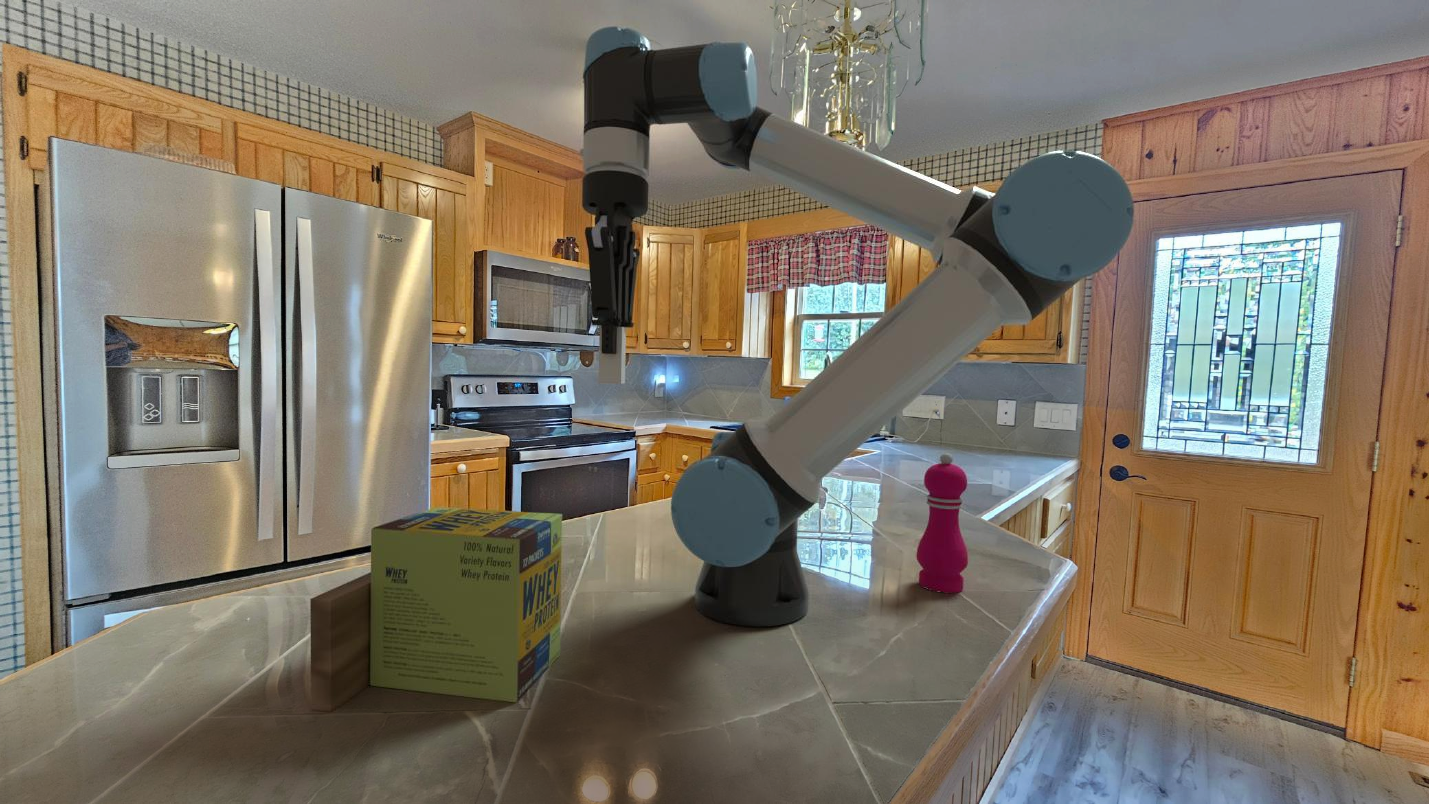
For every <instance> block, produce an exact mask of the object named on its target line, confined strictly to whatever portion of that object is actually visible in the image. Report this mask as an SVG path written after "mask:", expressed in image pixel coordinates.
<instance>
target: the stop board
mask: <svg viewBox="0 0 1429 804" xmlns="http://www.w3.org/2000/svg"><path fill="white" fill-rule="evenodd" d="M309 604H310V610H309V611H310V617H309V618H310V710H313V711H320V712H321V711H322V712H328V713H329V712H333V711H335V710H336V709H337V708H338V707H340V706H341V705H343V704H344V703H346V702H347V701H349V700H350V699H351V698H353V697H354V696H356V695H357V694H359V693H360V692H361V691H363V690H365V689H366V688H367V687H369V686H371V685H370V612H371V571H370V572H368V573H366V574H364V575H361V576H359V577H357V578H354V579H352V580H350V581H347V582H345V583H343V584H341V585H339V586H336V587H335V588H333V589H329V590H328V591H325V592H322V593H321V594H318V595H316V596H314V597H312V598H310V603H309Z"/></svg>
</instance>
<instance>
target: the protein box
mask: <svg viewBox="0 0 1429 804" xmlns="http://www.w3.org/2000/svg"><path fill="white" fill-rule="evenodd" d="M562 531H563V514H562V513H552V512H551V513H550V512H530V511H529V512H528V511H527V512H526V511H516V510H515V511H514V510H501V509H500V510H499V509H477V508H461V507H448V506H447V507H443V506H440V507H439V506H436V507H432V508H430V509H426V510H423V511H420V512H417V513H413V514H411V515H408V516H405V517H401V518H398V519H395V520H393V521H392V520H391V521H389V522H386V523H383V524H380V525H376V526H375V527H372V528H371V529H370V533H371V534H370V572H371V612H370V685H369V686H371V687H379V688H389V689H397V690H406V691H413V692H422V693H432V694H438V695H447V696H457V697H465V698H473V699H474V698H475V699H483V700H489V701H490V700H492V701H500V702H508V703H517V702H519V700H520V699H521V698H522V697H523V696H524V695H525V694H526V692H527V691H528V690H529V689H530V688H531V687H532V686H533V685H534V684H535V682H537V681H538V680H539V678H540V677H541V676H542V675H543V674H544V673H545V672H546V671H547V669H549V667H550V666H551V665H552V664H553V663H555V662H554V661H556V660H557V659H558V657H559V656H560V655H561V638H562V637H561V636H562V635H561V622H562V621H561V620H562V619H561V617H562V615H561V614H562V610H561V609H562V544H563V543H562V541H563V539H562V538H563V537H562V536H563V532H562Z"/></svg>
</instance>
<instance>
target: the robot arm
mask: <svg viewBox="0 0 1429 804" xmlns="http://www.w3.org/2000/svg"><path fill="white" fill-rule="evenodd" d="M651 46H652V45H651V43H650V41H649V39H648V38H647V37H646V36H645V35H644V34H642V33H641V32H639V31H638V30H635V29H632V28H630V27H627V28H620V27H618V26H606V27H603V28H600V29H597V30H595V31H594V32H593V33H591V34H590V36H589V38H588V39H587V41H586V45H585V57H584V68H583V71H582V79H583V82H582V83H583V148H581V149H580V150H579V156H580V157H581V158H583V159H582V162H583V163H582V170H583V172H584V173H585V175H584V176H583V178H582V184H581V185H582V188H581V206H582V209H583V210H584V211H585V212H586V213H587V214H590V215H592V216H594V226H586V227H585V229H584V236H585V240H586V246H587V252H588V255H587V256H588V266H589V267H588V269H589V281H590V282H589V283H590V284H589V285H590V298H591V299H590V300H591V315H592V318H593V319H591V320H590V321H591V322H590V323H591V325H592V326H599V335H598V336H599V338H598V339H599V343H598V345H599V346H598V347H599V348H598V384H626V347H627V344H626V343H627V339H626V338H627V329H628V328H629V329H630V328H634V325H635V323H634V322H633V315H634V314H633V313H634V304H635V303H634V302H635V292H636V284H637V283H636V280H637V270H638V265H639V260H640V255H641V252H640V248H638V247H637V248H635V246H636V232H635V231H634V230H633V221H634V220H635V218H641V217H644V216H645V215H646V214H647V213H648V211H649V183H648V181H647V180H646V179H648V177H649V176H650V138H651V137H650V135H651V134H650V132H651V131H650V130H651V126H653V125H660V126H661V125H673V124H674V125H675V124H687V125H688V127H689V128H690V129H691V131H692V132H693V133H694V135H695V136H696V137H697V139H698V140H699V142H700V143H701V145H702V146H703V147H702V148H703V149H704V150H705V152H706V154H707V155H708V156H709V158H710V159H712V160H713V161H714V162H716V163H717V164H718V165H719V166H721V167H723V168H725V169H728V170H738V169H741V170H742V169H743V170H745V171H748V172H751V173H753V174H755V175H756V176H757V175H758V176H759V177H762V178H764V179H766V180H769V181H771V182H773V183H776V184H777V185H779V186H781V187H784V188H786V189H789V190H791V191H793V192H796V193H798V194H800V195H802V196H804V197H807V198H808V199H811V200H813V201H815V202H818V203H820V204H822V205H825V206H827V207H829V208H832V209H834V210H836V211H839V212H840V213H842V214H845V215H847V216H849V217H852V218H854V219H857V220H859V221H860V222H863V223H865V224H867V225H869V226H872V227H875V228H877V229H879V230H881V231H884V232H886V233H888V234H890V235H893V236H895V237H896V238H900V239H901V240H904V241H905V242H906V241H907V242H908V243H910V244H913V245H914V246H915V245H916V246H917V247H920V248H922V249H924V250H926V251H929V253H930V255H931V258H932V260H933V263H934V264H936V265H938V266H937V267H936V268H935V269H934V270H933V271H931V272H930V273H929V274H927V276H926V277H925V278H924V279H923V280H922V281H920V283H918V284H917V285H916V286H914V288H912V290H911V291H910V292H908V293H907V294H906V295H905V296H904V297H903V298H902V299H900V300H899V301H898V302H897V303H896V304H894V306H893V307H892V308H890V310H888V311H887V312H886V313H885V314H884V315H883V316H882V317H881V318H879V320H877V321H875V323H874V324H873V325H872V326H871V327H869V328H868V329H867V330H865V332H864V333H863V334H861V335H860V337H858V338H857V339H856V340H854V342H853V343H851V344H850V345H849V347H847V348H846V349H845V350H844V351H842V353H840V354H839V355H838V356H837V357H836V358H835V359H834V360H833V361H832V362H831V363H830V364H828V365H827V366H826V367H825V368H824V369H823V370H822V371H821V372H819V374H817V375H816V376H815V377H814V378H813V379H811V380H810V382H809V383H807V384H805V386H804V387H802V389H800V391H799V392H797V393H796V394H794V396H793V397H792V398H790V400H788V401H787V402H786V403H785V404H783V406H782V407H780V408H779V410H777V411H775V413H774V414H773V415H772V416H771V417H770V418H768V419H753V418H752V419H751V418H749V419H747V420H745V422H743V423H742V424H741V425H740V426H739V427H737V429H736V430H734V431H720V432H717V433H715V434H714V436H713V438H712V442H711V443H712V445H711V446H710V453H709V454H708V455H707V456H705V457H702V458H701V459H699V460H697V461H694V462H693V463H691V464H690V465H689V466H688V467H686V469H685V471H684V472H683V473H682V474H681V476H680V477H679V479H678V481H677V482H676V484H675V486H674V488H673V491H672V494H671V495H672V496H671V499H670V500H671V501H670V512H671V513H670V515H671V520H672V524H673V528H674V529H675V532H676V534H677V536H678V538H679V540H680V541H681V543H682V544H683V545H684V546H685V548H687V550H688V551H689V552H690V553H692V554H693V556H695V557H696V558H698V559H700V560H701V561H703V564H702V567H701V569H700V572H699V575H698V578H697V580H696V584H695V589H694V606H695V608H696V609H697V610H698V611H699V612H700V614H703V615H704V616H706V617H708V618H711V620H712V619H713V620H715V621H719V622H722V623H726V624H731V625H737V626H744V627H773V626H780V625H786V624H790V623H793V622H796V621H798V620H800V619H801V618H803V617H805V615H806V614H807V613H808V610H809V599H810V598H809V596H810V595H809V594H810V593H809V589H808V588H809V587H808V584H807V582H806V578H805V575H804V574H805V573H804V571H803V568H802V564H801V561H800V557H799V553H798V529H799V528H798V524H799V518H800V517H801V516H802V515H804V514H805V513H806V512H807V511H808V510H809V509H811V508H812V507H814V505H815V504H817V503H818V502H819V501H820V497H821V482H822V480H823V479H824V478H825V477H826V476H827V475H829V474H830V473H831V472H832V471H834V470H835V468H837V467H838V466H840V464H841V463H842V462H844V461H846V460H847V458H848V457H850V456H851V455H853V453H854V452H856V451H857V450H858V449H859V448H860V447H861V446H863V445H864V444H865V443H866V442H867V441H868V440H869V439H870V438H872V437H873V436H874V435H875V434H877V433H878V432H879V431H880V430H882V428H883V427H885V426H886V425H887V424H888V423H889V422H891V421H892V420H893V419H894V418H896V416H897V415H898V414H900V413H901V412H902V411H903V410H905V409H906V408H907V407H908V406H909V405H910V404H912V403H913V402H914V401H915V400H916V399H917V398H919V397H921V395H922V394H924V393H925V392H926V391H927V390H928V389H929V388H931V386H932V385H934V384H935V383H936V382H937V381H938V380H940V379H941V378H942V377H943V376H944V375H945V374H947V373H948V372H950V370H952V368H954V367H955V366H956V365H957V364H958V363H960V362H961V361H962V360H963V359H964V358H965V357H967V355H969V354H971V352H972V351H974V350H975V349H976V348H977V347H979V346H980V345H981V344H982V343H983V342H984V341H986V339H988V338H989V337H990V336H991V335H992V334H994V333H995V332H996V331H998V330H999V328H1000V327H1003V326H1025V325H1028V324H1029V323H1031V322H1032V321H1033V320H1034V319H1036V317H1038V316H1039V315H1040V314H1042V313H1043V312H1044V311H1045V310H1046V309H1048V308H1049V307H1050V306H1052V305H1053V304H1054V303H1055V302H1056V301H1057V300H1058V299H1059V298H1061V297H1062V296H1063V295H1064V294H1065V293H1066V292H1068V291H1069V290H1070V289H1072V287H1074V286H1075V285H1077V284H1078V283H1079V282H1080V281H1081V280H1083V279H1084V278H1087V277H1091V276H1092V275H1095V274H1097V273H1099V272H1100V271H1102V270H1103V269H1104V268H1106V267H1107V266H1109V264H1111V262H1112V261H1113V260H1114V258H1115V257H1116V256H1117V255H1118V254H1119V253H1120V251H1121V250H1122V249H1123V248H1124V246H1125V244H1126V243H1127V241H1128V239H1129V237H1130V234H1131V232H1132V228H1133V226H1134V225H1133V224H1134V215H1135V213H1134V212H1135V211H1134V207H1135V205H1134V204H1135V203H1134V200H1133V196H1132V192H1131V190H1130V188H1129V185H1128V183H1127V182H1126V180H1125V179H1124V177H1123V176H1122V175H1121V173H1120V172H1119V171H1118V170H1117V169H1116V168H1115V167H1114V166H1112V165H1111V164H1110V163H1109V162H1107V161H1106V160H1104V159H1102V158H1100V157H1098V156H1096V155H1094V154H1092V153H1091V154H1090V153H1087V152H1083V151H1079V150H1076V151H1075V150H1056V151H1050V152H1047V153H1044V154H1041V155H1038V156H1036V157H1033V158H1031V159H1029V160H1027V161H1026V162H1025V163H1024V164H1022V165H1020V166H1018V167H1016V168H1015V169H1013V171H1012V172H1010V173H1009V174H1008V175H1007V176H1006V178H1005V179H1004V180H1003V181H1002V184H1001V185H1000V186H999V187H998V189H997V192H996V193H994V192H990V191H988V190H985V189H983V188H980V187H978V186H975V185H974V186H971V187H969V188H966V189H963V190H959V189H957V188H955V187H953V186H950V185H948V184H945V183H943V182H941V181H938V180H935V179H933V178H931V177H928V176H926V175H924V174H921V173H919V172H916V171H914V170H911V169H909V168H907V167H905V166H902V165H900V164H897V163H894V162H892V161H890V160H887V159H885V158H883V157H880V156H878V155H875V154H873V153H871V152H868V151H866V150H863V149H861V148H858V147H856V146H853V145H851V144H849V143H847V142H844V141H841V140H839V139H837V138H834V137H833V136H832V137H831V136H830V135H827V134H824V133H822V132H820V131H818V130H815V129H813V128H811V127H808V126H806V125H803V124H800V123H799V122H796V121H793V120H791V119H789V118H786V117H784V116H781V115H779V114H776V113H773V112H770V111H768V110H766V109H764V108H761V107H760V106H757V99H758V98H757V97H758V77H757V76H758V75H757V69H756V68H757V66H756V64H755V63H756V62H755V56H754V54H753V51H752V49H751V48H750V46H749V45H748V44H746V43H744V42H720V41H718V42H717V41H712V42H710V43H704V44H697V45H695V44H694V45H687V46H686V45H685V46H679V47H670V48H662V49H661V48H659V49H652V47H651Z"/></svg>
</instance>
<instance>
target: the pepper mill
mask: <svg viewBox="0 0 1429 804" xmlns="http://www.w3.org/2000/svg"><path fill="white" fill-rule="evenodd" d="M953 460H954V458H953V455H952V454H950V453H948V452H945V453H942V454H941V455H940V457H939V461H940V463H935V464H933V465H931V466H930V467H929V468H927V469H926V471H925V473H924V478H923V484H924V487H925V489H926V490H927V491H928V494H927V495H926V499H927V501H926V504H927V505H928V506H929V507H928V508H929V510H928V511H929V514H928V521H927V525H926V528H925V530H924V532H923V535H922V536H921V538H920V541H919V542H918V546H917V548H916V550H917V551H916V560H917V563H918V564H919V565H920V567H921V568H922V569H921V570H919V573H918V584H919V583H920V584H921V585H922V586H923V587H926V588H928V589H931V590H934V591H933V592H935V591H940V592H944V593H943V594H956V593H960V592H962V591H963V590H964V582H965V581H964V577H963V575H962V574H961V573H962V572H963V571H964V570H965V569H967V567H968V564H969V558H968V557H969V555H968V549H967V546H966V543H965V541H964V538H963V536H962V532H961V528H960V522H959V521H960V520H959V519H960V518H959V514H960V509H961V508H963V504H962V503H963V500H964V499H963V497H961V495H963V493H964V492H965V491H966V489H967V488H968V487H967V486H968V477H967V474H966V472H965V471H964V470H963V469H962V468H961V467H959V466H958V465H956V464H953ZM920 584H919V585H920ZM922 586H921V587H922ZM923 587H922V588H923ZM928 589H927V590H928ZM931 590H930V591H931ZM940 592H939V593H940ZM946 592H947V593H946Z"/></svg>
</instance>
